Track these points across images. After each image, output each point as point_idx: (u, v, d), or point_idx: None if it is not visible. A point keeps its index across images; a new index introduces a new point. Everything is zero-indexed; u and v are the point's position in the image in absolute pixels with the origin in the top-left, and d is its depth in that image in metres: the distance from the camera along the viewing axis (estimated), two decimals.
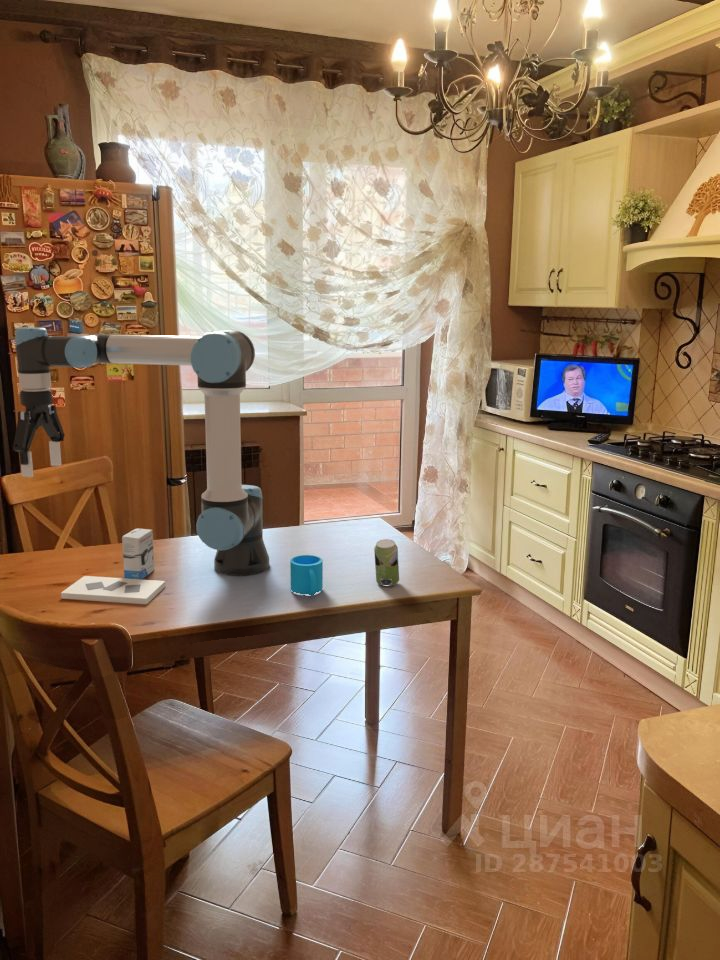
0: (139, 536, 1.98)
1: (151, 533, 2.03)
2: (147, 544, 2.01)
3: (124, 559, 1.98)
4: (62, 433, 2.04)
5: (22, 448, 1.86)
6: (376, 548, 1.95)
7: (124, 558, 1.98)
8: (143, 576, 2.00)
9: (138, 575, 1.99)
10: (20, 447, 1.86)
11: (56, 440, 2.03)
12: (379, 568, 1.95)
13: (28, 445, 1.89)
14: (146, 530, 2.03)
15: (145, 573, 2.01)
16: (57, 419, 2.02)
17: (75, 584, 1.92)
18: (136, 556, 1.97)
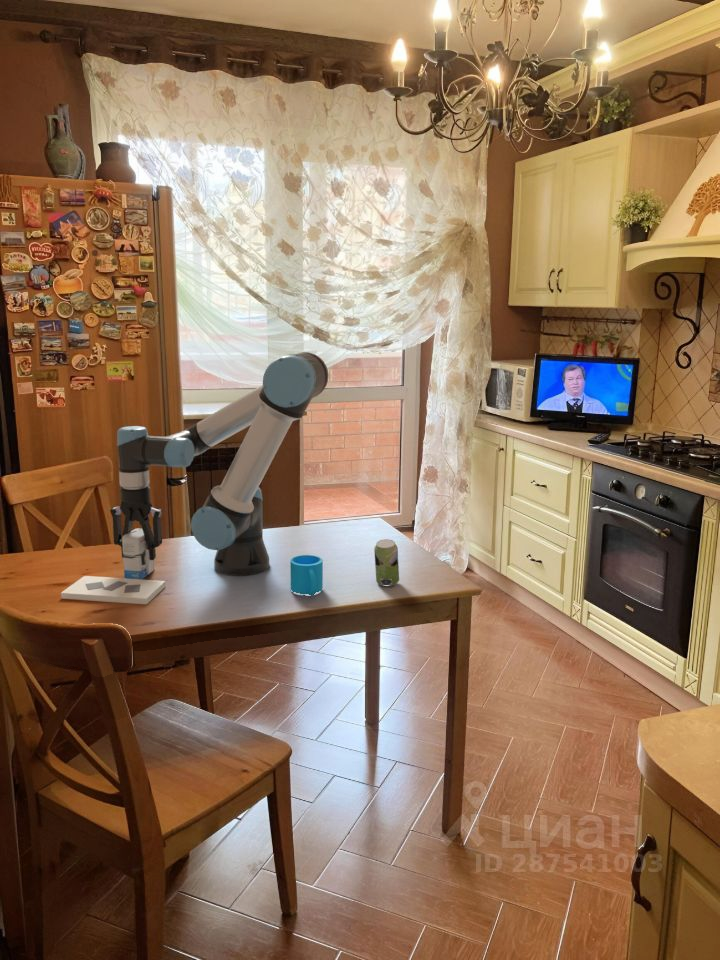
0: (139, 536, 1.98)
1: None
2: None
3: (124, 559, 1.98)
4: (156, 542, 1.99)
5: (114, 543, 2.01)
6: (376, 548, 1.95)
7: (124, 558, 1.98)
8: (143, 576, 2.00)
9: (138, 575, 1.99)
10: None
11: None
12: (379, 568, 1.95)
13: None
14: None
15: (145, 573, 2.01)
16: (155, 525, 1.98)
17: (75, 584, 1.92)
18: (136, 556, 1.97)
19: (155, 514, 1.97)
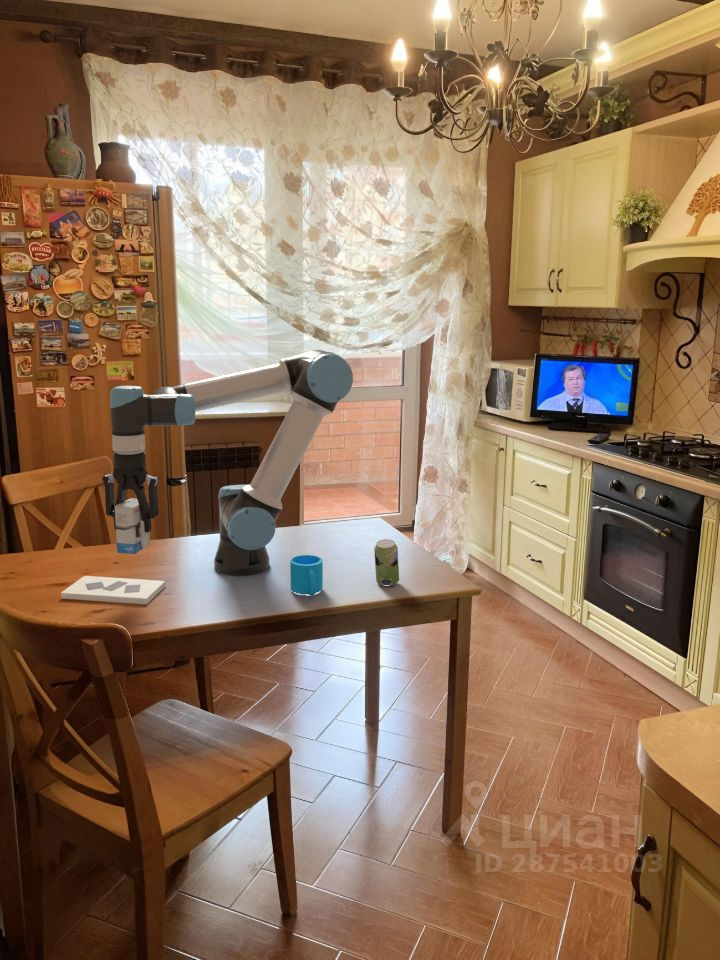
0: (133, 506, 1.82)
1: None
2: None
3: (116, 531, 1.82)
4: (151, 513, 1.83)
5: (106, 513, 1.85)
6: (376, 548, 1.95)
7: (117, 530, 1.82)
8: (137, 550, 1.84)
9: (132, 548, 1.83)
10: None
11: None
12: (379, 568, 1.95)
13: None
14: None
15: (140, 547, 1.85)
16: (150, 494, 1.82)
17: (75, 584, 1.92)
18: (130, 528, 1.82)
19: (151, 482, 1.81)
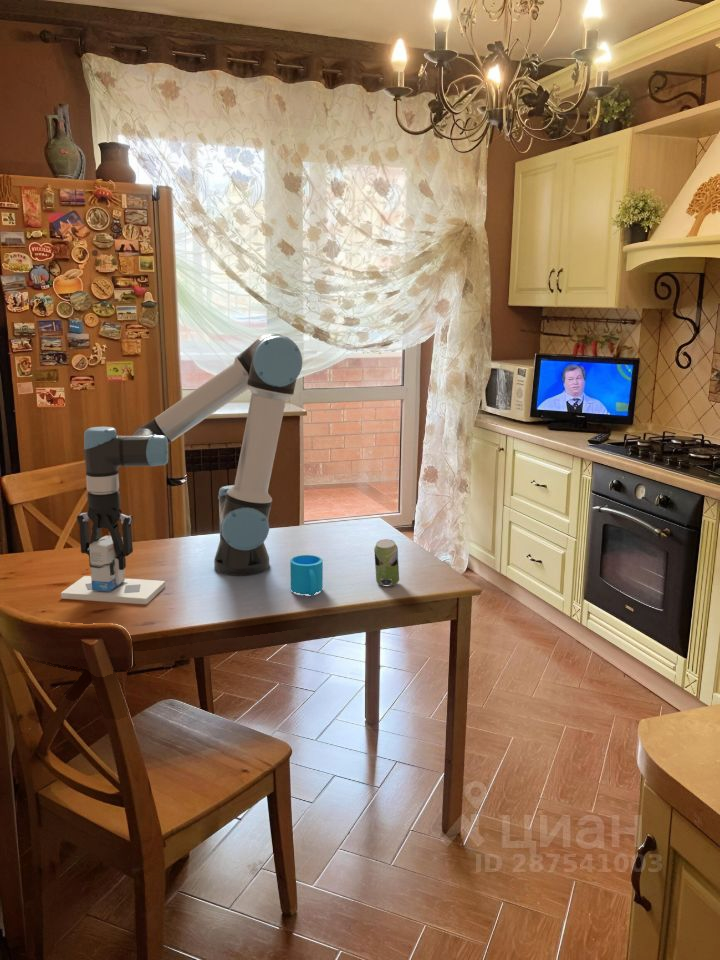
0: (108, 544, 1.85)
1: None
2: None
3: (91, 569, 1.86)
4: (125, 551, 1.86)
5: (81, 551, 1.88)
6: (376, 548, 1.95)
7: (91, 568, 1.85)
8: (112, 587, 1.88)
9: (106, 585, 1.86)
10: None
11: None
12: (379, 568, 1.95)
13: None
14: None
15: (114, 584, 1.89)
16: (124, 533, 1.85)
17: (75, 584, 1.92)
18: (105, 566, 1.85)
19: (125, 521, 1.85)
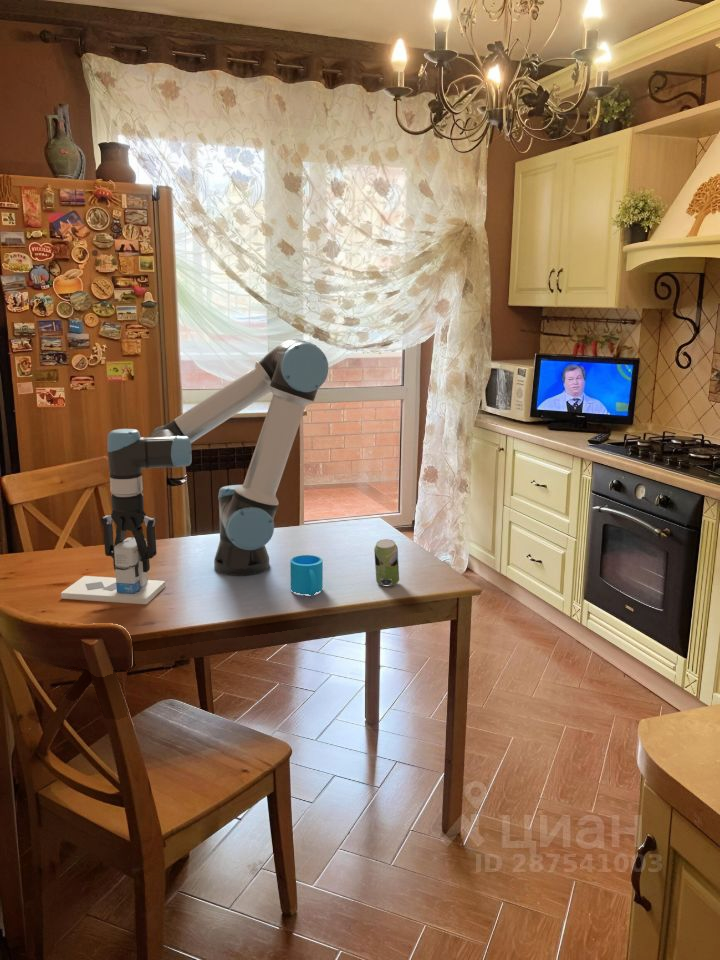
0: (132, 546, 1.85)
1: None
2: None
3: (116, 571, 1.85)
4: (149, 553, 1.86)
5: (106, 554, 1.88)
6: (376, 548, 1.95)
7: (116, 570, 1.85)
8: (137, 589, 1.87)
9: (131, 587, 1.85)
10: None
11: None
12: (379, 568, 1.95)
13: None
14: None
15: (139, 586, 1.88)
16: (148, 535, 1.85)
17: (75, 584, 1.92)
18: (130, 568, 1.84)
19: (149, 523, 1.84)
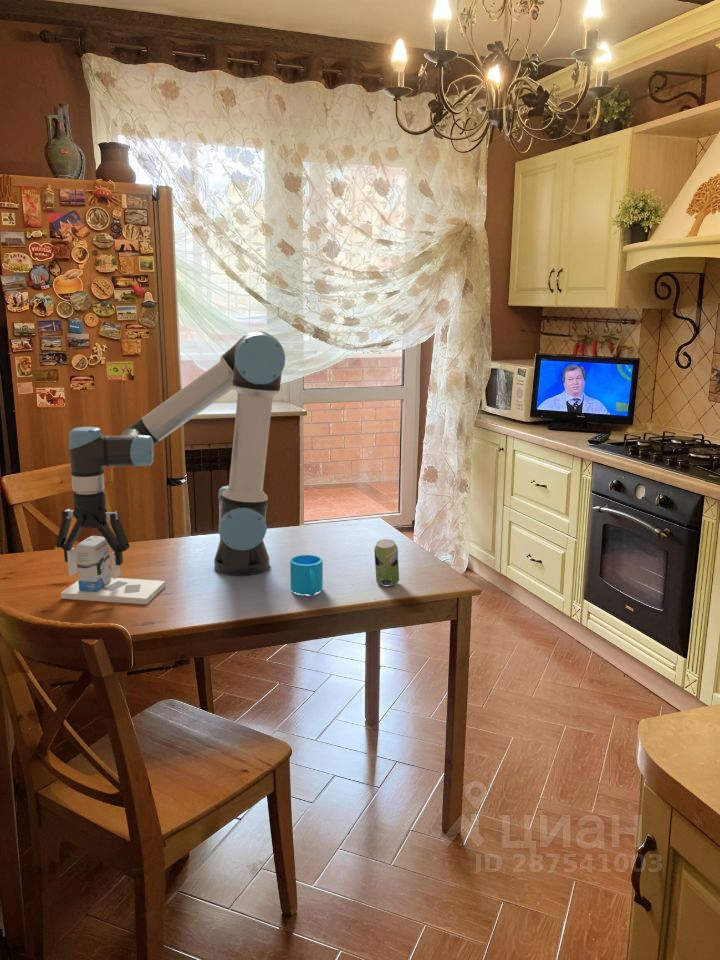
0: (94, 544, 1.86)
1: None
2: (103, 552, 1.89)
3: (78, 569, 1.86)
4: (121, 546, 1.86)
5: (56, 545, 1.89)
6: (376, 548, 1.95)
7: (78, 568, 1.86)
8: (99, 587, 1.88)
9: (94, 585, 1.86)
10: None
11: None
12: (379, 568, 1.95)
13: (66, 544, 1.88)
14: (102, 537, 1.91)
15: (101, 584, 1.89)
16: (115, 529, 1.86)
17: (75, 584, 1.92)
18: (92, 566, 1.85)
19: (111, 517, 1.85)
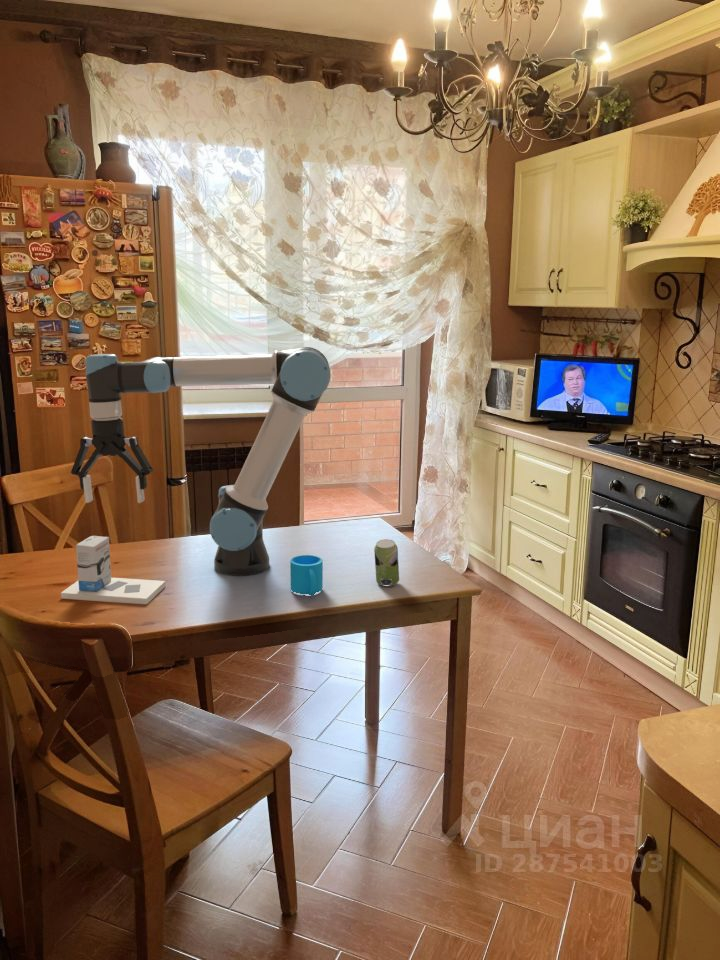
0: (94, 544, 1.86)
1: (107, 541, 1.91)
2: (103, 552, 1.89)
3: (78, 569, 1.86)
4: (145, 470, 1.87)
5: (72, 472, 1.89)
6: (376, 548, 1.95)
7: (78, 568, 1.86)
8: (99, 587, 1.88)
9: (94, 585, 1.86)
10: None
11: None
12: (379, 568, 1.95)
13: (82, 471, 1.89)
14: (102, 537, 1.91)
15: (101, 584, 1.89)
16: (136, 453, 1.86)
17: (75, 584, 1.92)
18: (92, 566, 1.85)
19: (130, 442, 1.86)
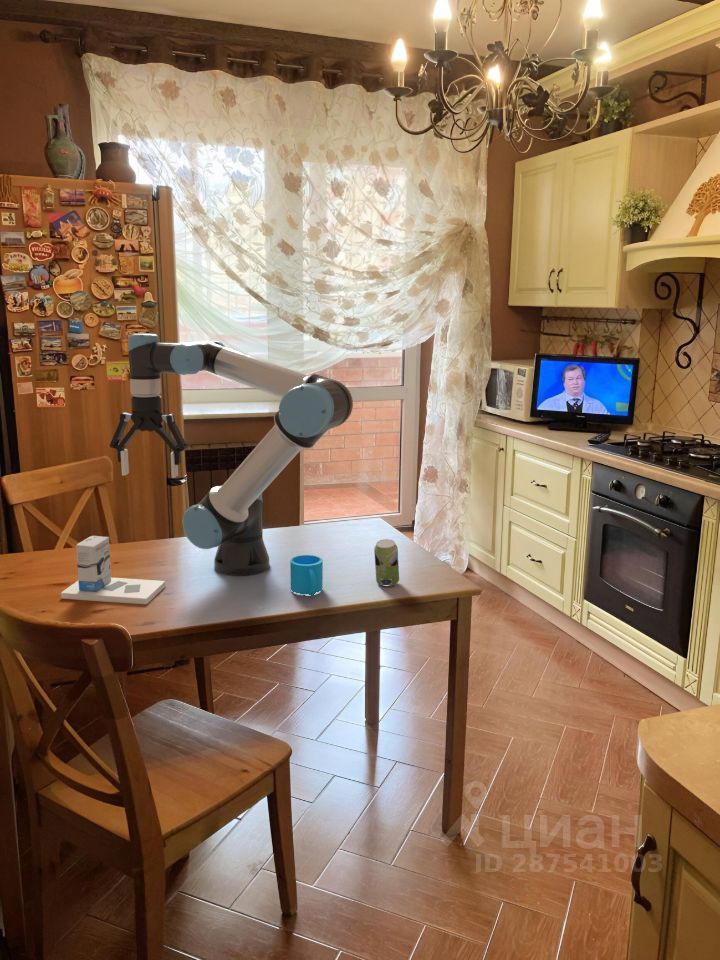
0: (94, 544, 1.86)
1: (107, 541, 1.91)
2: (103, 552, 1.89)
3: (78, 569, 1.86)
4: (180, 446, 1.95)
5: (110, 445, 1.98)
6: (376, 548, 1.95)
7: (78, 568, 1.86)
8: (99, 587, 1.88)
9: (94, 585, 1.86)
10: None
11: None
12: (379, 568, 1.95)
13: (120, 444, 1.98)
14: (102, 537, 1.91)
15: (101, 584, 1.89)
16: (172, 430, 1.95)
17: (75, 584, 1.92)
18: (92, 566, 1.85)
19: (167, 418, 1.94)
